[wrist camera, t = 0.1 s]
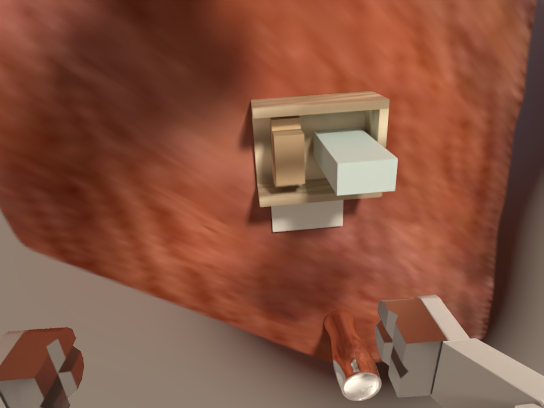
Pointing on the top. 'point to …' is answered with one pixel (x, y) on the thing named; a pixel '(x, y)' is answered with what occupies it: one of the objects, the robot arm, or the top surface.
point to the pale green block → (354, 161)
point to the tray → (314, 116)
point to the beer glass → (351, 357)
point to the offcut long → (283, 124)
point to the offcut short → (289, 157)
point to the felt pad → (307, 215)
